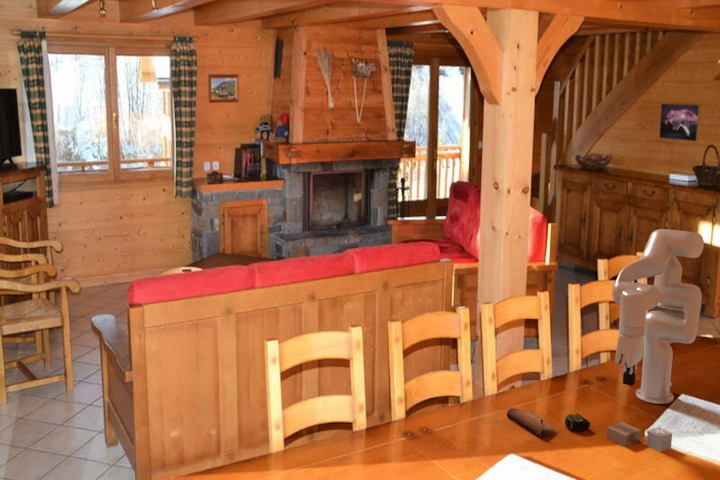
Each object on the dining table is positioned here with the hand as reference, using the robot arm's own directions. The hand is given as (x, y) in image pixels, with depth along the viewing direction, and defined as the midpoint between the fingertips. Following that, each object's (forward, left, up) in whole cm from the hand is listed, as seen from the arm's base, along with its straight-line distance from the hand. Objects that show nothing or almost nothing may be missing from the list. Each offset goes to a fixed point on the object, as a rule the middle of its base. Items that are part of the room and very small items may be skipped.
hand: (628, 384), depth 238 cm
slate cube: (+2, +12, -17) cm, 20 cm away
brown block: (+5, +2, -17) cm, 18 cm away
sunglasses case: (+15, -24, -18) cm, 34 cm away
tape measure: (+6, -13, -17) cm, 23 cm away
